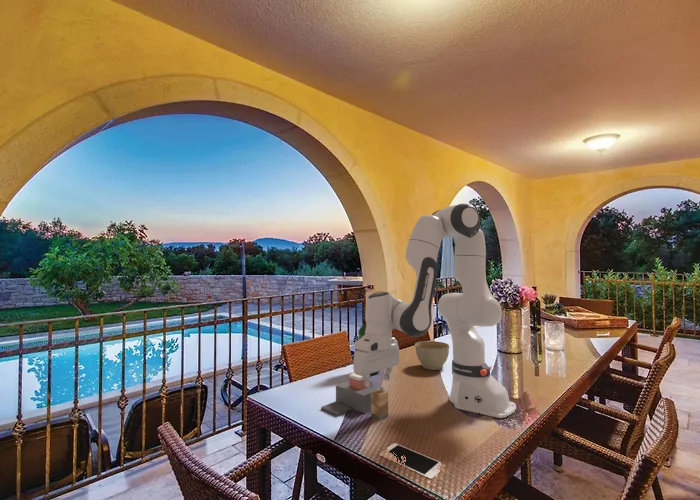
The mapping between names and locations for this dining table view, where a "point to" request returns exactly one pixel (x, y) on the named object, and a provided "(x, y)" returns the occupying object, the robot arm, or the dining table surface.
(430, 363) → the planter bowl
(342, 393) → the block
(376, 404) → the tan wooden block
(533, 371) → the dining table surface
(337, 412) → the mat
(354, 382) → the button
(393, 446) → the cell phone
